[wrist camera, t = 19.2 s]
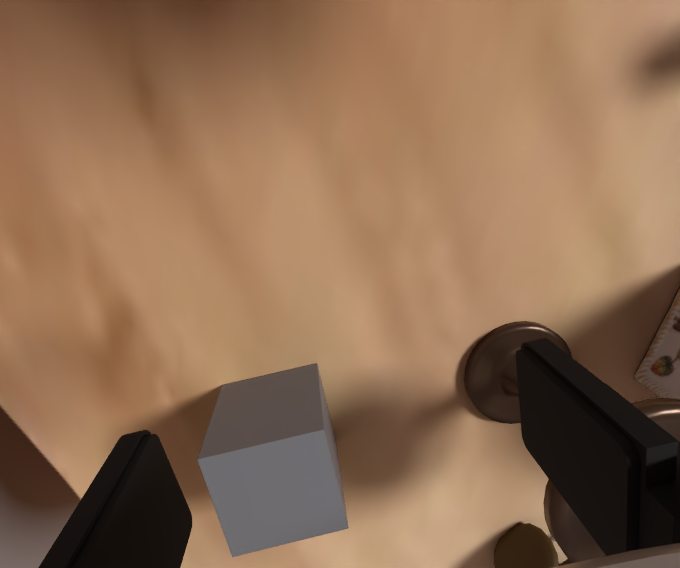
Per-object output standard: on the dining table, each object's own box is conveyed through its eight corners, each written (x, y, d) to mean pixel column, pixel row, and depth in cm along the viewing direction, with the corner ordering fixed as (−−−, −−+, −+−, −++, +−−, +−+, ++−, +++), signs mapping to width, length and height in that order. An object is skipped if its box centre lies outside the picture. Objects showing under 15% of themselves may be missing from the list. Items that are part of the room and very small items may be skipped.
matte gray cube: (316, 363, 34) (324, 429, 25) (336, 442, 36) (348, 528, 27) (222, 385, 33) (197, 459, 25) (247, 464, 36) (232, 557, 27)
